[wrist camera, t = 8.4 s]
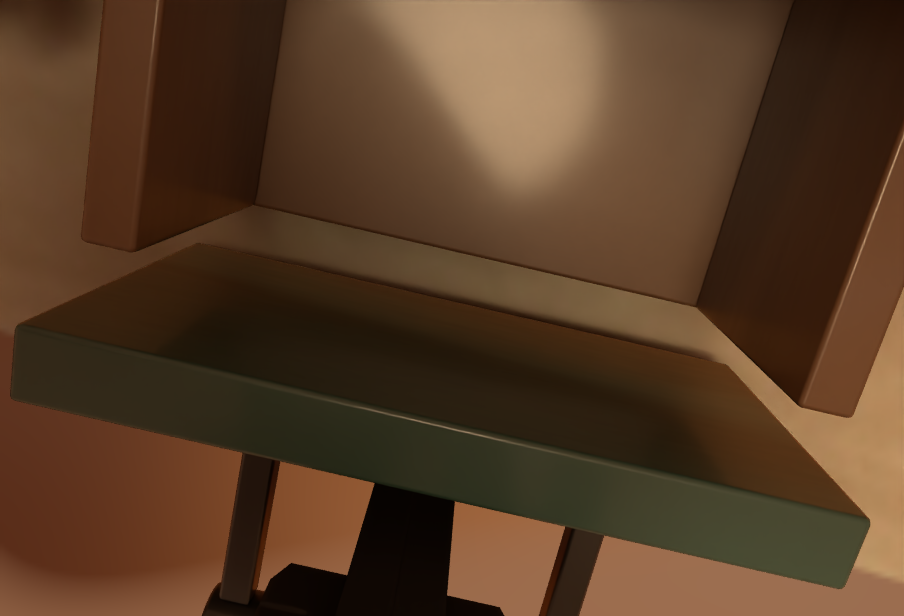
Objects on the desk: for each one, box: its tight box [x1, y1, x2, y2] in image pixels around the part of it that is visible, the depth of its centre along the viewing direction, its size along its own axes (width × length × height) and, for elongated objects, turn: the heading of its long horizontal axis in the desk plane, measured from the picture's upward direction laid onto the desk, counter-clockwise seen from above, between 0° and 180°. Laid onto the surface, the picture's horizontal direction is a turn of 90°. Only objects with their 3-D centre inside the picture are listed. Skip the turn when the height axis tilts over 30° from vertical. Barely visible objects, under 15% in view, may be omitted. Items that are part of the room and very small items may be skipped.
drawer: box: [10, 0, 904, 616], centre depth 13 cm, size 20×12×7 cm, turn 167°
